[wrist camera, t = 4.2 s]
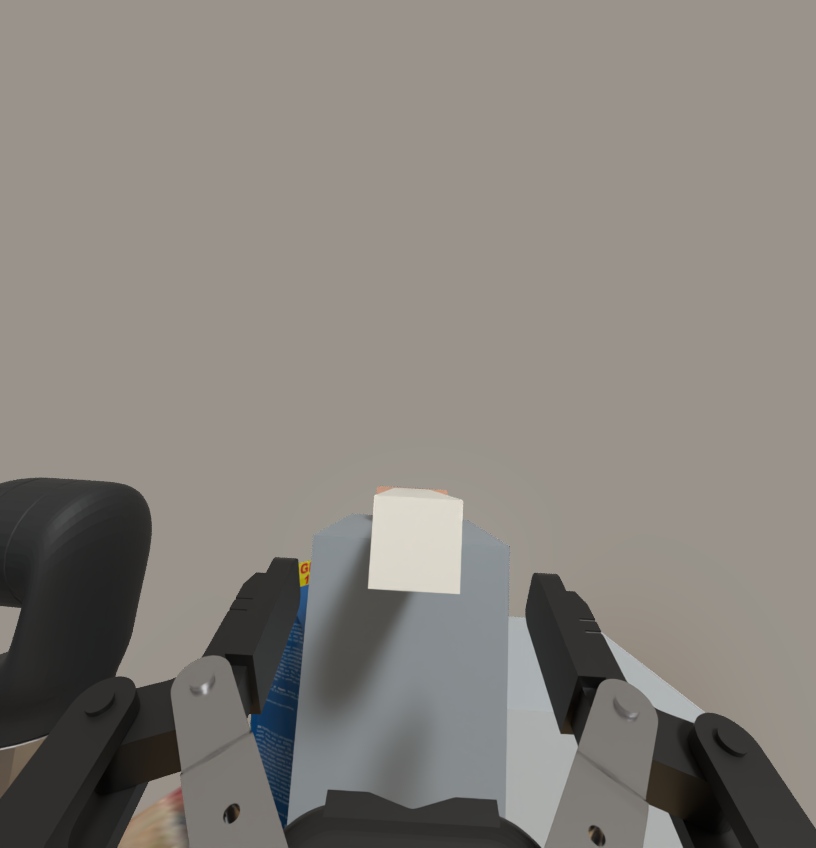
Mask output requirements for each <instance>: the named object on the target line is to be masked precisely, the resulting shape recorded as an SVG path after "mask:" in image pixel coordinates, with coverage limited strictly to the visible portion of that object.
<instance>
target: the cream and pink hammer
mask: <svg viewBox="0 0 816 848" xmlns="http://www.w3.org/2000/svg"><path fill="white" fill-rule="evenodd" d="M462 517H463V500H460V499H457V498H454V497H451V496H448V495H447V491H446V490H437V489H420V488H401V487H384V486H379V487H377V495H374V509H373V523H372V537H371V552H370V567H369V581H368V589H381V590H398V591H415V592H432V593H448V594H460V578H461V549H462Z"/></svg>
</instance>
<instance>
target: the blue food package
mask: <svg viewBox="0 0 816 848" xmlns="http://www.w3.org/2000/svg"><path fill="white" fill-rule="evenodd" d="M310 567H311V560H310V561H306V562H302V563H299V576H300V591H301V597H300V605H299V609H298V613H297V616H296V619H295V621H294V624H293V627H292V630H291V632H290V635H289V638H288V641H287V644H286V646H285V649H284V652H283V655H282V658H281V660H280V663H279V666H278V669H277V672H276V674H275V677H274V680H273V683H272V686H271V688H270V691H269V694H268V697H267V699H266V702H265V705H264V708H263V711H262V713H261V715H258V714H251V723H250V731H252V732H253V735H254V737H255V740H256V743H257V747H258V750H259V753H260V757H261V760H262V763H263V766H264V770H265V773H266V776H267V780H268V783H269V786H270V789H271V793H272V796H273V799H274V802H275V806H276V809H277V812H278V816H279V819H280V822H281V825H282V829H284V828H285V827H286V826H287V820H288V809H289V798H290V787H291V776H292V765H293V754H294V743H295V732H296V721H297V710H298V699H299V688H300V677H301V666H302V655H303V644H304V633H305V622H306V611H307V600H308V589H309V578H310Z"/></svg>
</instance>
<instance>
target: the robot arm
mask: <svg viewBox="0 0 816 848" xmlns="http://www.w3.org/2000/svg"><path fill="white" fill-rule="evenodd" d="M151 532H152V522H151V515H150V510H149V507H148V505H147V502H146V500H145V499H144V497H143V496H142V495H141V494H140V492H138V491H137V490H136V489H134V488H132V487H130V486H128V485H124V484H120V483H114V482H104V481H90V480H88V481H87V480H73V479H57V478H28V479H19V480H13V481H8V482H4V483H1V484H0V606H7V607H17V608H21V612H20V616H19V619H18V623H17V626H16V630H15V633H14V637H13V640H12V643H11V646H10V649H9V651H8V652H6V653H3V654H0V848H117V846H118V844H119V842H120V840H121V838H122V836H123V834H124V832H125V830H126V828H127V826H128V824H129V822H130V820H131V817H132V815H133V813H134V811H135V809H136V807H137V805H138V803H139V801H140V798H141V797H142V795H143V792H144V790H145V788H146V786H147V784H148V782H149V781H152V780H155V779H158V778H161V777H164V776H167V775H170V774H173V773H177V772H180V771H181V772H182V773H181V775H180V776H181V787H182V794H183V802H184V809H185V816H186V823H187V831H188V838H189V845H190V848H541V847H540V845H539V844H538V843H537V842H536V841H535V840H534V839H533V838H532V837H531V836H530V835H529V834H527V833H526V832H525V831H524V830H522V829H521V828H520V827H518V826H517V825H516V824H514V823H512V822H510V821H509V820H507V819H505V818H503V817H500V816H499V811H498V804H497V800H494V799H478V798H461V797H454V798H450V799H447V800H444V801H440V802H437V803H433V804H430V805H426V806H423V807H419V808H415V809H410V808H407V807H404V806H402V805H400V804H397V803H395V802H392V801H390V800H388V799H385V798H383V797H380V796H378V795H375V794H373V793H371V792H362V791H346V790H329V789H328V790H327V796H326V802H325V805H323V806H320V807H317V808H314V809H312V810H310V811H308V812H306V813H304V814H303V815H301V816H299V817H298V818H296V819H295V820H294V821H292V822H291V823H290V824H289V825H287V826H286V827H285V828H284V829H282V825H281V822H280V819H279V816H278V812H277V809H276V806H275V802H274V799H273V796H272V793H271V789H270V786H269V783H268V780H267V776H266V773H265V770H264V766H263V763H262V760H261V757H260V753H259V750H258V747H257V743H256V740H255V737H254V735H253V732H252V731H250V728H249V725H248V722H247V718H248V715H249V714H258V715H261V713H262V711H263V708H264V705H265V702H266V699H267V697H268V694H269V691H270V688H271V686H272V683H273V680H274V677H275V674H276V672H277V669H278V666H279V663H280V660H281V658H282V655H283V652H284V649H285V646H286V644H287V641H288V638H289V635H290V632H291V630H292V627H293V624H294V621H295V619H296V616H297V613H298V609H299V605H300V597H301V591H300V576H299V563H298V559H296V558H279V557H275V558H274V559H273V561H272V562H271V564H270V566H269V568H268V570H267V572H266V573H255V574H254V575H253V576H252V577H251V578H250V579H249V580H248V581H246V582H245V583H244V584H243V586H242V588H241V589H240V591H239V593H238V595H237V597H236V600H234V602H233V603H232V605H231V607H230V610H229V611H228V612H227V614H226V616H225V618H224V619H223V621H222V623H221V625H220V626H219V628H218V630H217V632H216V633H215V635H214V637H213V639H212V641H211V642H210V644H209V646H208V648H207V649H206V651H205V653H204V655H203V656H202V658H200V659H197V660H195V661H194V662H192V663H190V664H189V665H188V666H187V667H185V668H184V669H183V670H182V671H181V672H180V673H179V674H178V676H177V677H176V678H173V679H171V680H168V681H164V682H161V683H156V684H152V685H148V686H144V687H140V688H136V687H135V684H134V683H133V681H132V680H131V679H129V678H126V677H115V676H116V672H117V670H118V667H119V665H120V663H121V660H122V658H123V656H124V654H125V652H126V649H127V647H128V645H129V641H130V639H131V636H132V632H133V627H134V622H135V617H136V612H137V607H138V602H139V597H140V593H141V589H142V583H143V580H144V575H145V571H146V566H147V561H148V556H149V551H150V543H151V535H152V533H151ZM526 623H527V628H528V631H529V634H530V637H531V641H532V644H533V647H534V650H535V654H536V657H537V660H538V663H539V666H540V670H541V673H542V676H543V679H544V683H545V686H546V689H547V692H548V695H549V699H550V702H551V705H552V708H553V712H554V715H555V718H556V721H557V725H558V728H559V731H560V734H569V735H574V736H575V739H576V742H577V745H578V748H577V751H576V754H575V757H574V760H573V763H572V766H571V769H570V772H569V775H568V778H567V781H566V784H565V787H564V790H563V793H562V796H561V799H560V802H559V805H558V808H557V811H556V814H555V817H554V820H553V823H552V826H551V829H550V832H549V835H548V838H547V840H546V843H545V846H544V848H643V845H644V838H645V832H646V826H647V819H648V812H649V805H651V806H653V807H656V808H658V809H660V810H663V811H665V812H667V813H669V816H670V818H671V820H672V823H673V825H674V827H675V830H676V832H677V835H678V837H679V839H680V842H681V844H682V847H683V848H816V829H815V827H814V826H813V824H812V823H811V821H810V820H809V818H808V817H807V815H806V814H805V812H804V811H803V809H802V808H801V806H800V805H799V803H798V802H797V801H796V799H795V798H794V796H793V795H792V793H791V792H790V790H789V789H788V787H787V786H786V784H785V783H784V781H783V780H782V778H781V777H780V775H779V774H778V773H777V771H776V769H775V768H774V767H773V765H772V763H771V762H770V760H769V759H768V758H767V756H766V755H765V753H764V752H763V750H762V749H761V747H760V746H759V745H758V743H757V742H756V741H755V740H754V738H753V737H752V736H751V735H750V734H749V733H748V732H746V731H745V730H744V729H743V728H742V727H740V726H739V725H738V724H736V723H735V722H733V721H731V720H730V719H728V718H726V717H723V716H721V715H718V714H714V713H702V714H700V715H699V716H698V717H697V718H696V720H695V722H694V723H693V722H690V721H687V720H685V719H682V718H679V717H676V716H674V715H671V714H668V713H665V712H663V711H661V710H658V709H657V708H655V707H654V706H653V705H652V703H651V702H650V700H649V699H648V698H647V697H646V696H645V695H644V694H643V693H642V692H641V691H640V690H639V689H637V688H636V687H634V686H633V685H631V684H629V683H628V682H627V680H626V679H625V677H624V675H623V673H622V671H621V669H620V667H619V665H618V663H617V661H616V659H615V657H614V655H613V653H612V651H611V649H610V648H609V646H608V644H607V642H606V640H605V638H604V636H603V634H601V630H600V628H599V626H598V624H597V623H596V622H595V618H594V616H593V614H592V613H591V611H590V609H589V607H588V605H587V604H586V603H585V602H584V601H583V600H582V599H581V598H580V597H579V596H578V594H577V593H576V592H573V591H566V590H565V587H564V585H563V583H562V581H561V579H560V577H559V576H558V575H557V574H545V573H534V574H533V576H532V580H531V585H530V590H529V594H528V599H527V604H526Z"/></svg>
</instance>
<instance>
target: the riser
mask: <svg viewBox="0 0 816 848" xmlns="http://www.w3.org/2000/svg"><path fill="white" fill-rule="evenodd" d="M372 523H373V515H361V514H351V515H349V516H347V517H345V518H343V519H342V520H340V521H338V522H336V523H335V524H333V525H331V526H329V527H327V528H325V529H323V530H322V531H320V532H318V533H316V534H315V535H313V545H312V556H311V567H310V578H309V589H308V600H307V611H306V622H305V633H304V644H303V655H302V666H301V677H300V688H299V699H298V710H297V721H296V732H295V743H294V754H293V765H292V776H291V787H290V798H289V809H288V820H287V825H289V824H290V823H291V822H292V821H294V820H295V819H296V818H298V817H299V816H301V815H303V814H304V813H306V812H308V811H310V810H312V809H314V808H317V807H320V806H323V805H325V802H326V796H327V790H328V789H329V790H346V791H362V792H371V793H373V794H375V795H378V796H380V797H383V798H385V799H388V800H390V801H392V802H395V803H397V804H400V805H402V806H404V807H407V808H410V809H415V808H419V807H423V806H426V805H430V804H433V803H437V802H440V801H444V800H447V799H450V798H454V797H461V798H478V799H494V800H497V804H498V811H499V816H500V817H503V818H505V819H507V820H509V821H510V822H512V823H514V824H516V825H517V826H518V827H520V828H521V829H522V830H524V831H525V832H526V833H527V834H529V835H530V836H531V837H532V838H533V839H534V840H535V841H536V842H537V843H538V844H539V845H540V847H541V848H544V846H545V843H546V840H547V838H548V835H549V832H550V829H551V826H552V823H553V820H554V817H555V814H556V811H557V808H558V805H559V802H560V799H561V796H562V793H563V790H564V787H565V784H566V781H567V778H568V775H569V772H570V769H571V766H572V763H573V760H574V757H575V754H576V751H577V748H578V745H577V742H576V739H575V736H574V735H569V734H560V731H559V728H558V725H557V721H556V718H555V715H554V712H553V708H552V705H551V702H550V699H549V695H548V692H547V689H546V686H545V683H544V679H543V676H542V673H541V670H540V666H539V663H538V660H537V657H536V654H535V650H534V647H533V644H532V641H531V637H530V634H529V631H528V628H527V623H526V618H523V617H509V556H510V546H508V545H506V544H505V543H503V542H502V541H500V540H499V539H497V538H495V537H494V536H492V535H490V534H489V533H487V532H486V531H484V530H483V529H481V528H479V527H478V526H476V525H475V524H473V523H471V522H470V521H466V520H462V549H461V578H460V594H448V593H432V592H415V591H398V590H381V589H368V581H369V567H370V552H371V537H372ZM601 634H603V633H602V632H601ZM603 636H604V638H605V640H606V642H607V644H608V646H609V648H610V649H611V651H612V653H613V655H614V657H615V659H616V661H617V663H618V665H619V667H620V669H621V671H622V673H623V675H624V677H625V679H626V680H627V682H628V683H629V684H631V685H633V686H634V687H636V688H637V689H639V690H640V691H641V692H642V693H643V694H644V695H645V696H646V697H647V698H648V699H649V700H650V702H651V703H652V705H653V706H654V707H655V708H657V709H658V710H661V711H663V712H665V713H668V714H671V715H674V716H676V717H679V718H682V719H685V720H687V721H690V722H693V723H694V722H695V720H696V718H697V717H698V716H699V715H700V714H702V713H705V712H704V711H703V710H701V709H700V708H699V707H698V706H696V705H695V704H694V703H692V702H691V701H690V700H688V699H687V698H686V697H684V696H683V695H682V694H681V693H679V692H678V691H677V690H676V689H674V688H673V687H672V686H670V685H669V684H668V683H666V682H665V681H664V680H663V679H661V678H660V677H659V676H657V675H656V674H655V673H654V672H652V671H651V670H649V669H648V668H647V667H646V666H644V665H643V664H642V663H641V662H639V661H638V660H637V659H635V658H634V657H633V656H632V655H630V654H629V653H627V652H626V651H625V650H624V649H623V648H621V647H620V646H619V645H617V644H616V643H615V642H613V641H612V640H611V639H610V638H608V637H607V636H606V635H604V634H603ZM643 848H683V847H682V844H681V842H680V839H679V837H678V835H677V832H676V830H675V827H674V825H673V823H672V820H671V818H670V816H669V813H667V812H665V811H663V810H660V809H658V808H656V807H653V806H651V805H649V812H648V819H647V826H646V832H645V838H644V845H643Z"/></svg>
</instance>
